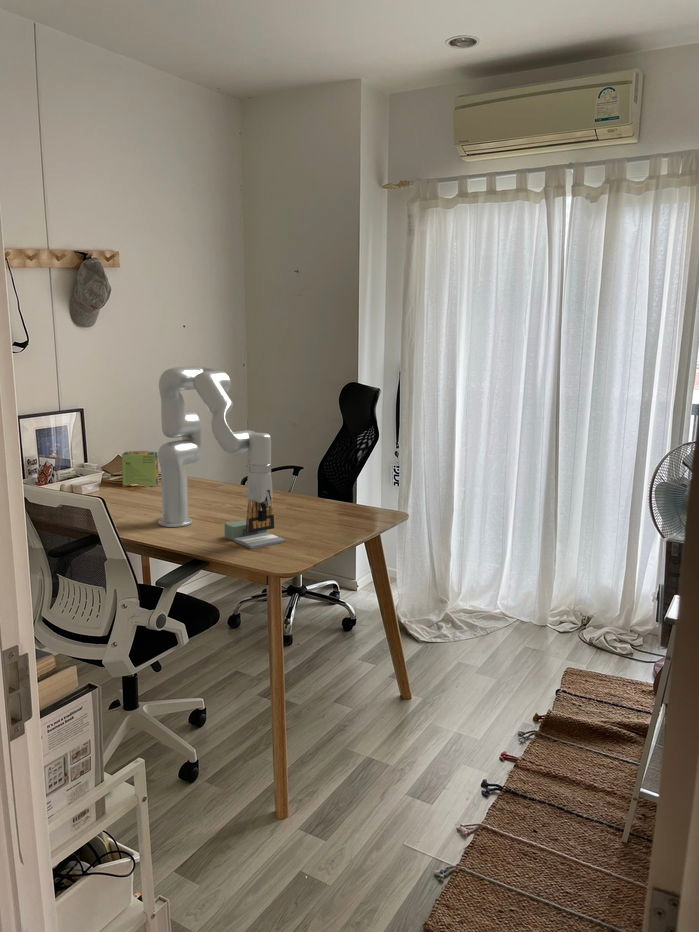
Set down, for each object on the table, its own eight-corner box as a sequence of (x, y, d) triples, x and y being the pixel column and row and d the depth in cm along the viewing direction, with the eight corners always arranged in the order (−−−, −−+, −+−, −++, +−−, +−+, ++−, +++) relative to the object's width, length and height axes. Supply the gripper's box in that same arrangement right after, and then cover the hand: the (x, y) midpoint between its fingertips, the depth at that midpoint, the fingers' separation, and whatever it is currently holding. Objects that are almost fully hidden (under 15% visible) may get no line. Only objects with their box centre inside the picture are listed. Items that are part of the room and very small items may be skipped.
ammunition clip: (271, 527, 263) (271, 494, 261) (274, 528, 262) (274, 495, 260) (245, 531, 257) (245, 498, 254) (248, 533, 255) (248, 499, 253)
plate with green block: (224, 536, 265) (224, 523, 264) (257, 530, 274) (257, 517, 273) (251, 549, 252) (251, 534, 251) (285, 542, 260) (285, 528, 259)
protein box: (156, 487, 344) (155, 454, 341) (122, 487, 342) (121, 454, 339) (159, 482, 354) (158, 450, 351) (126, 482, 352) (125, 450, 349)
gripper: (238, 466, 259) (239, 517, 262) (263, 473, 247) (263, 526, 250) (257, 464, 264) (257, 514, 267) (282, 471, 252) (281, 523, 255)
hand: (260, 519), depth 259 cm, fingers closed on ammunition clip, 2 cm apart
